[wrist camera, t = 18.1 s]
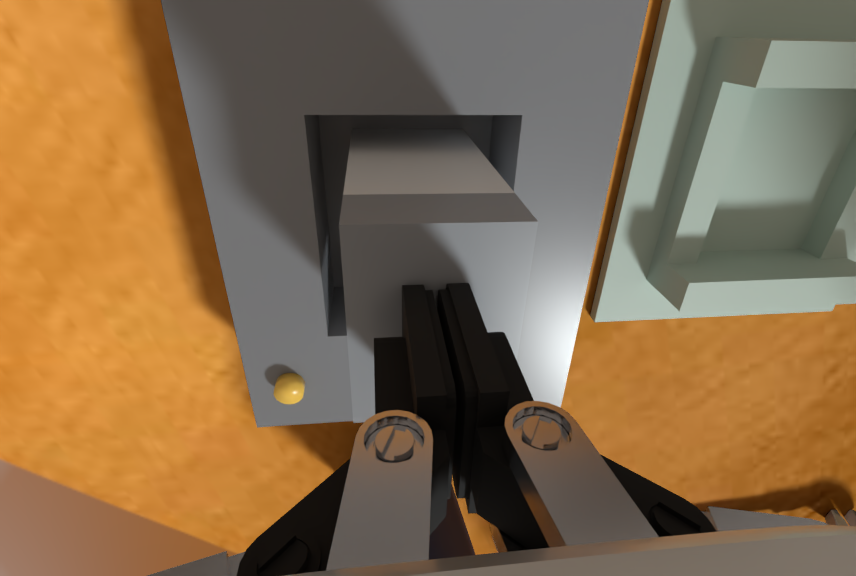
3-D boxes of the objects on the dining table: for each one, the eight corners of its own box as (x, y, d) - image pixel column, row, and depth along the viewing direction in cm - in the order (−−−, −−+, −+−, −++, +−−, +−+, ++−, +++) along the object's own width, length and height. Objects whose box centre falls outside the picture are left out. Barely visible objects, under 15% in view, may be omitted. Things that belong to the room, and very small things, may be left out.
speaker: (316, 483, 30) (321, 681, 21) (363, 421, 28) (390, 609, 19) (414, 506, 33) (453, 684, 24) (462, 452, 31) (522, 624, 23)
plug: (462, 129, 19) (538, 221, 11) (454, 259, 22) (508, 413, 14) (352, 128, 19) (339, 224, 10) (359, 262, 22) (353, 422, 13)
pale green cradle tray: (996, -29, 19) (1117, -37, 16) (823, 305, 27) (881, 342, 24) (672, -41, 18) (736, -53, 15) (590, 316, 26) (620, 357, 23)
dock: (595, -44, 17) (673, -63, 13) (531, 348, 26) (565, 416, 22) (198, -58, 16) (132, -86, 11) (274, 361, 25) (254, 437, 20)
